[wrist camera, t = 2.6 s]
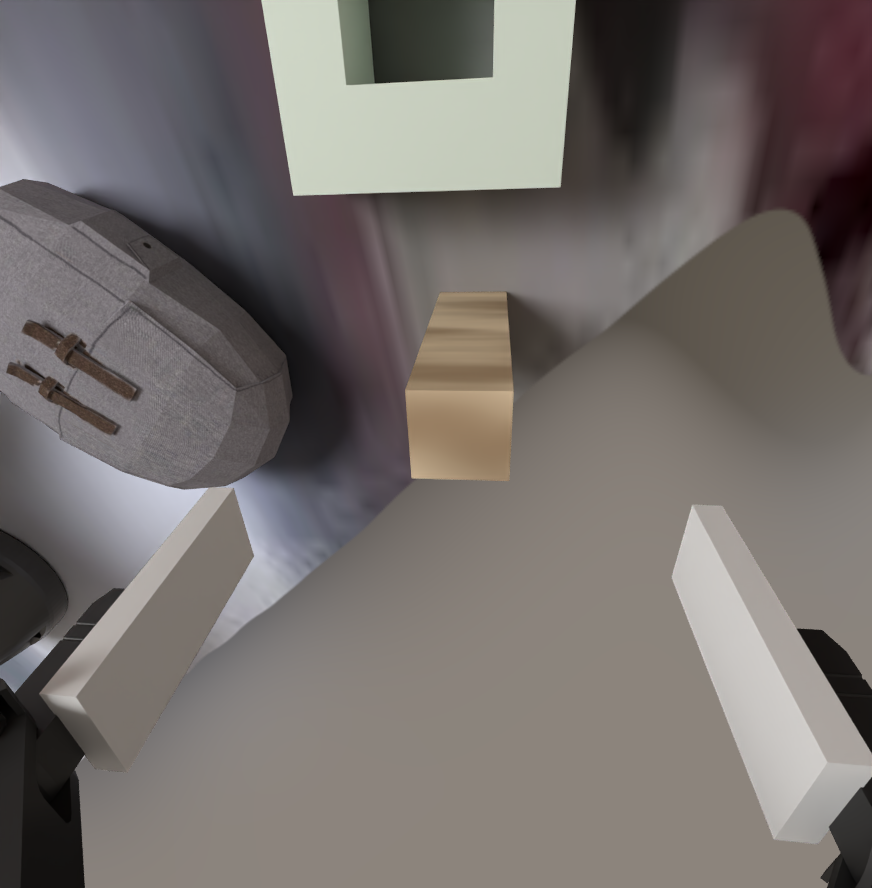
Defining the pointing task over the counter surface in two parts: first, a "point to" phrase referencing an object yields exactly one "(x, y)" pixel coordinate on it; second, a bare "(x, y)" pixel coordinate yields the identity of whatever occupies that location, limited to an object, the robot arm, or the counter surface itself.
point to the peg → (462, 391)
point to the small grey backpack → (131, 346)
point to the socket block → (419, 104)
